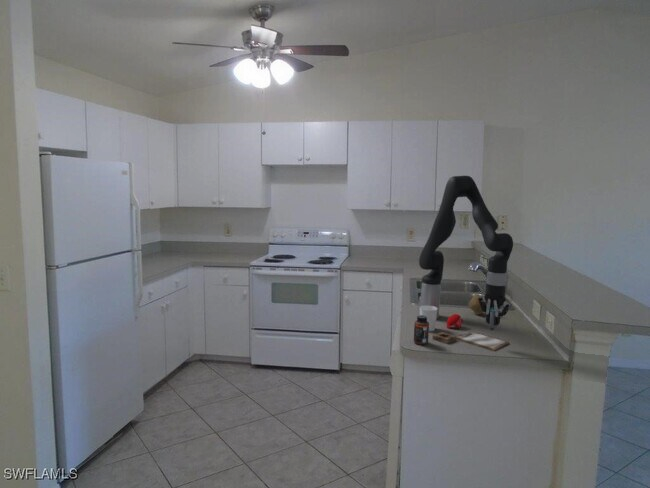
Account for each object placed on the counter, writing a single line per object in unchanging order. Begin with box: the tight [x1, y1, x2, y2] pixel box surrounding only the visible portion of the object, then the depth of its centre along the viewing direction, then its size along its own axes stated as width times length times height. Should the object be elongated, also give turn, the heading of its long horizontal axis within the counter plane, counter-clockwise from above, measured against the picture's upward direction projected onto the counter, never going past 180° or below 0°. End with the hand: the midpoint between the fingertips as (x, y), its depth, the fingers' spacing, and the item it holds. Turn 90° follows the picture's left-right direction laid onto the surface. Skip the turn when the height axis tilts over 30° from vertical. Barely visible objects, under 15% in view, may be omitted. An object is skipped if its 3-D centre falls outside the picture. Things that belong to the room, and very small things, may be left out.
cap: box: [445, 313, 463, 329], centre depth 204 cm, size 8×6×6 cm
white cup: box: [420, 306, 438, 332], centre depth 200 cm, size 8×8×10 cm
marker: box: [488, 307, 497, 331], centre depth 179 cm, size 3×3×9 cm
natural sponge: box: [468, 294, 487, 316], centre depth 225 cm, size 9×9×10 cm
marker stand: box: [432, 331, 457, 345], centre depth 187 cm, size 7×7×2 cm
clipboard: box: [456, 330, 510, 352], centre depth 186 cm, size 18×13×1 cm
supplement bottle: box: [413, 314, 430, 346], centre depth 182 cm, size 6×6×11 cm
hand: (492, 323), depth 179 cm, fingers closed on marker, 2 cm apart
